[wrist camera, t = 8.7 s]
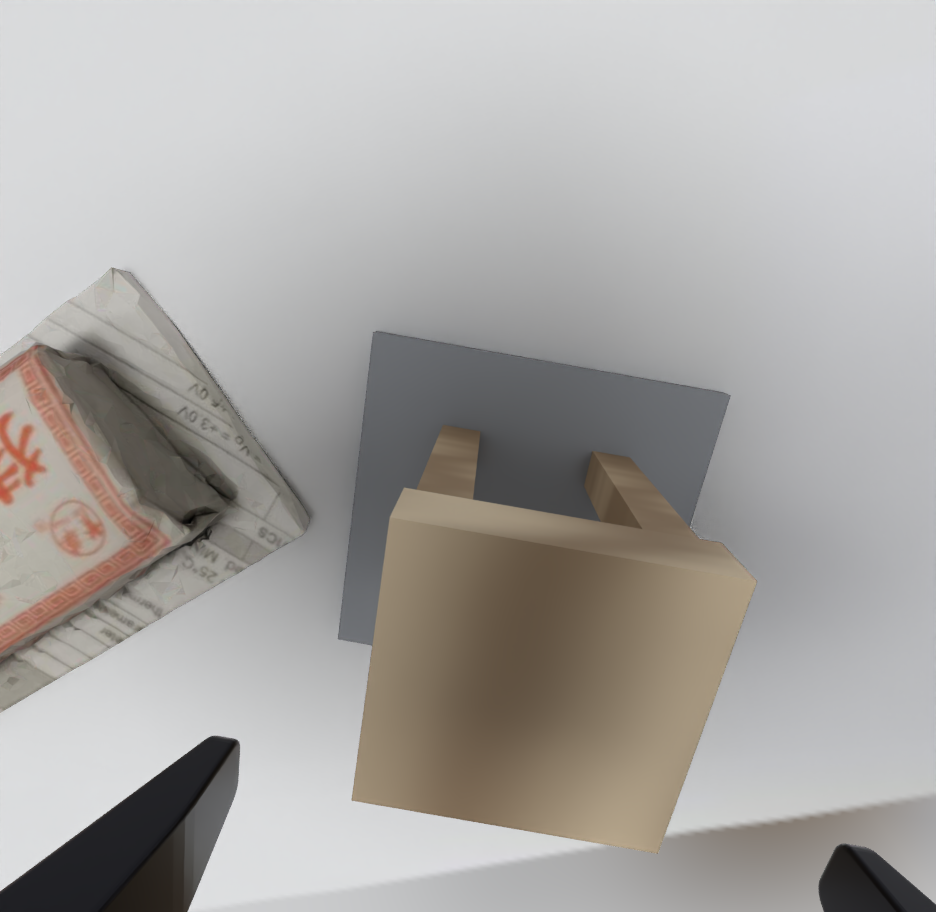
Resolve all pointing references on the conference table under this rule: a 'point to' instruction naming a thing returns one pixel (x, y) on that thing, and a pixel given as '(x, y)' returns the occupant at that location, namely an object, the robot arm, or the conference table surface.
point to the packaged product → (118, 484)
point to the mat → (511, 441)
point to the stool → (544, 655)
